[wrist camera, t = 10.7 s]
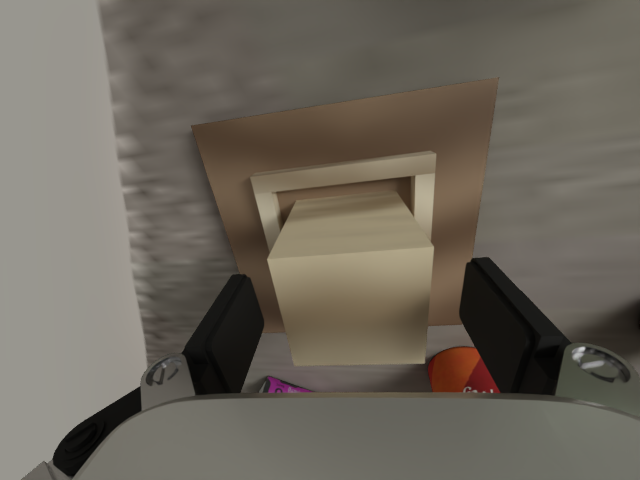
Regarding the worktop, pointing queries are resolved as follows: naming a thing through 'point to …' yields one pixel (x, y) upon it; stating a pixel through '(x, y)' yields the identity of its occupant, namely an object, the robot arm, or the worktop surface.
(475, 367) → the paper cup
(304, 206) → the maple block
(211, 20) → the worktop surface
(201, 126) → the base plate
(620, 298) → the worktop surface
